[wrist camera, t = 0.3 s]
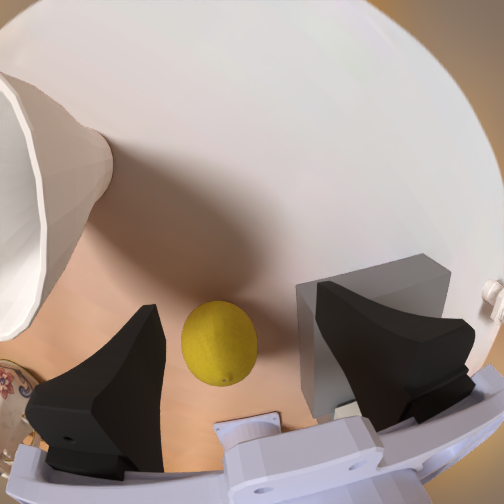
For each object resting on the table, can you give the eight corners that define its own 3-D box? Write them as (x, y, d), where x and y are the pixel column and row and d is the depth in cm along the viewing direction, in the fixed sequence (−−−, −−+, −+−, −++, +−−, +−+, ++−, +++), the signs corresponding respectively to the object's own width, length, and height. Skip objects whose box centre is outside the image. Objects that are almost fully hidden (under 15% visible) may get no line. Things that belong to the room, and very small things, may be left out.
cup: (58, 254, 20) (-35, 361, 7) (10, 143, 15) (-115, 173, 3) (165, 199, 20) (112, 298, 7) (114, 72, 15) (8, 3, 3)
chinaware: (17, 422, 29) (2, 499, 15) (-47, 357, 21) (-81, 439, 6) (143, 419, 31) (147, 535, 16) (66, 333, 22) (24, 492, 8)
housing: (393, 391, 34) (407, 412, 30) (302, 423, 33) (311, 449, 29) (423, 253, 25) (451, 271, 21) (295, 285, 24) (313, 314, 20)
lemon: (261, 314, 25) (283, 380, 17) (211, 346, 25) (218, 416, 18) (221, 269, 22) (231, 332, 15) (169, 308, 23) (160, 377, 16)
